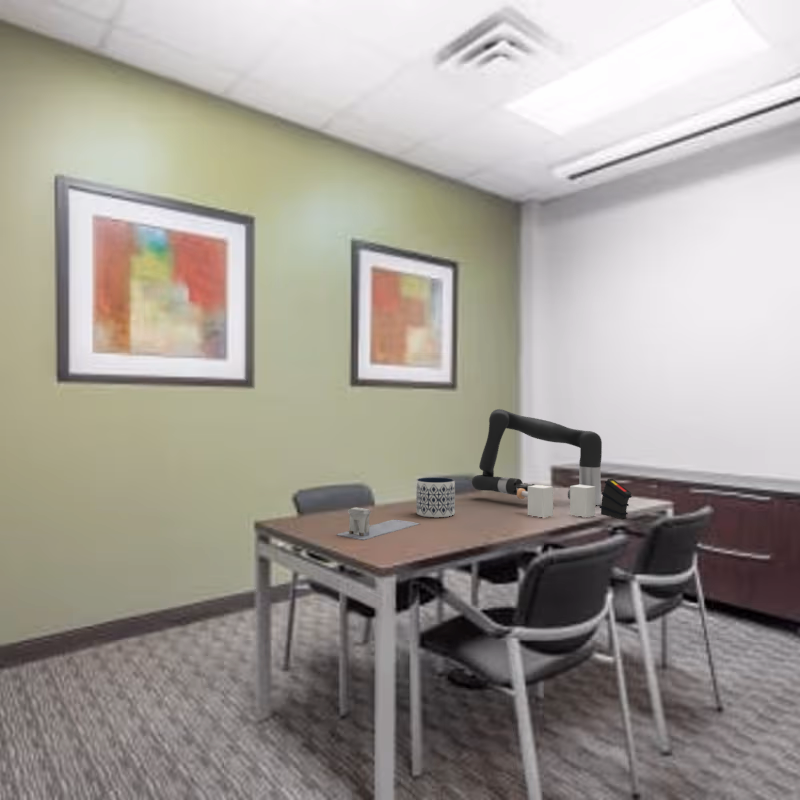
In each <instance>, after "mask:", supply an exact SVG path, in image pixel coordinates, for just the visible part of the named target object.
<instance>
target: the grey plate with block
mask: <svg viewBox="0 0 800 800" xmlns="http://www.w3.org/2000/svg"><path fill="white" fill-rule="evenodd" d="M347 513H348V514H349V520H348V521H349V525H348V526H349V529H348V530H347V531H344V532H340V533H337V534H336V536H339V537H344V538H349V539H354V540H360V541H367V540H369V539H373V538H376V537H380V536H381V537H382V536H384V535H388V534H391V533H394V532H398V531H402V530H404V529H408V528H412V526H413V527H415V525H416V526H419V525H418V524H420V525H421V523H419V522H414V521H408V520H401V519H391V520H386V521H383V522H379V523H375V524H371V525H370V514H372V512H371V511H370V509H369V508H362V507H356V506H354V507H350V508H349V509H348V510H347Z"/></svg>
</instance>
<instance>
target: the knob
mask: <svg viewBox="0 0 800 800" xmlns="http://www.w3.org/2000/svg"><path fill="white" fill-rule="evenodd" d="M516 497H517V498H518V499H519V500H524V499H526V498H528V492H527V491H525V489H523V488H519V489H518V490H517V495H516Z"/></svg>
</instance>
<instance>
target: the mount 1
mask: <svg viewBox="0 0 800 800" xmlns="http://www.w3.org/2000/svg"><path fill="white" fill-rule="evenodd" d="M528 515H532V516H531V517H533V516H538V517H537V518H539V517H547V518H549V517H548V516H551V517H554V486H550V485H542V484H535V485H533V486H528V497H527V516H528Z"/></svg>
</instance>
